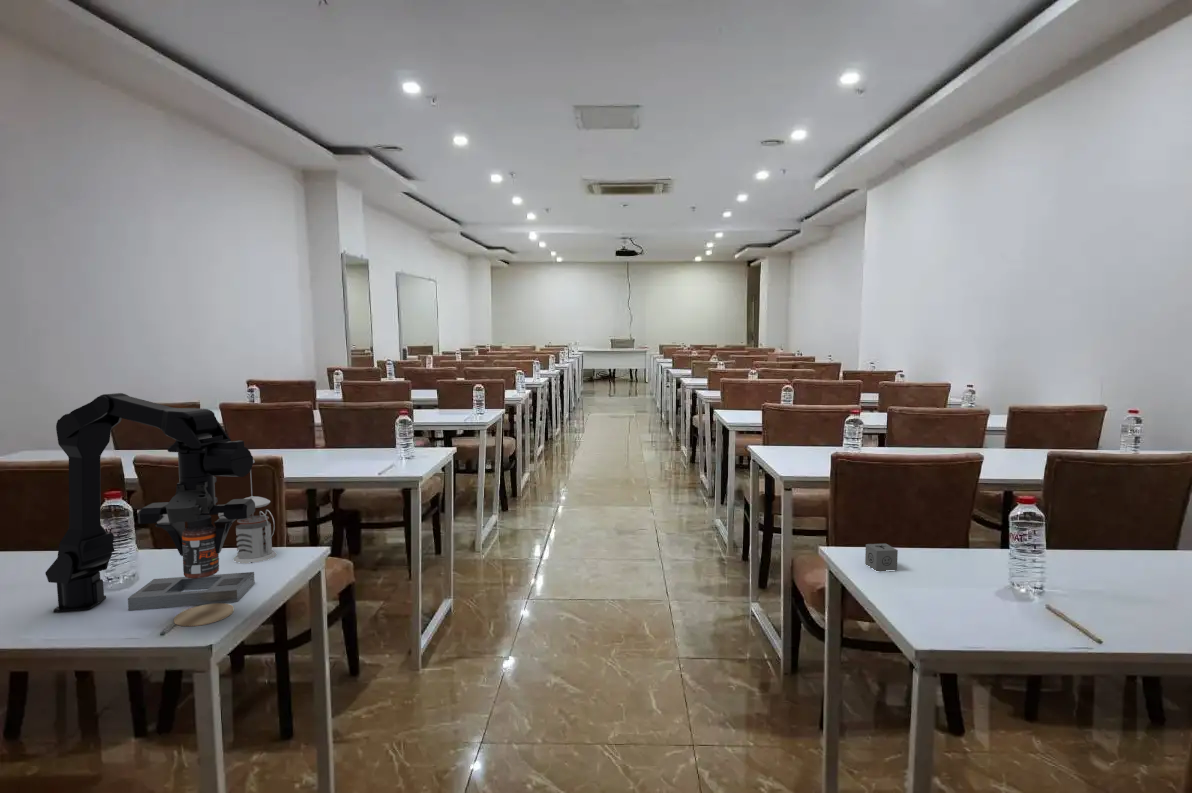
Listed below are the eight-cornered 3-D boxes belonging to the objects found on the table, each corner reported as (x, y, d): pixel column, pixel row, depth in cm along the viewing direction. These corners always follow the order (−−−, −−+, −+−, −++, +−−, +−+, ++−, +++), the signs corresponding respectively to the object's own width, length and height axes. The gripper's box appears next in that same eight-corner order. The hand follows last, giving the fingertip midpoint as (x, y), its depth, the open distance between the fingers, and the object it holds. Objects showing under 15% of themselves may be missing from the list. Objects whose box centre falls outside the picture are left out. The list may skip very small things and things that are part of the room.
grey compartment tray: (128, 610, 129) (127, 598, 128) (154, 590, 139) (153, 578, 139) (237, 601, 132) (236, 589, 132) (254, 582, 143) (254, 571, 143)
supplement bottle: (202, 580, 122) (199, 522, 121) (176, 578, 123) (172, 520, 122) (226, 570, 128) (224, 514, 127) (201, 568, 129) (198, 512, 128)
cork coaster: (164, 628, 120) (164, 626, 120) (187, 607, 130) (187, 605, 130) (223, 623, 122) (222, 621, 122) (241, 603, 132) (241, 601, 132)
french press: (259, 548, 168) (255, 454, 166) (290, 554, 163) (285, 457, 161) (223, 560, 159) (218, 460, 157) (254, 566, 154) (249, 463, 152)
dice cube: (885, 564, 152) (886, 543, 152) (897, 571, 147) (897, 550, 147) (865, 564, 152) (865, 544, 152) (876, 572, 147) (876, 550, 147)
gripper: (120, 486, 114) (125, 571, 115) (234, 481, 118) (238, 564, 119) (150, 473, 125) (154, 552, 126) (254, 470, 129) (257, 546, 130)
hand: (200, 554), depth 125 cm, fingers closed on supplement bottle, 6 cm apart
